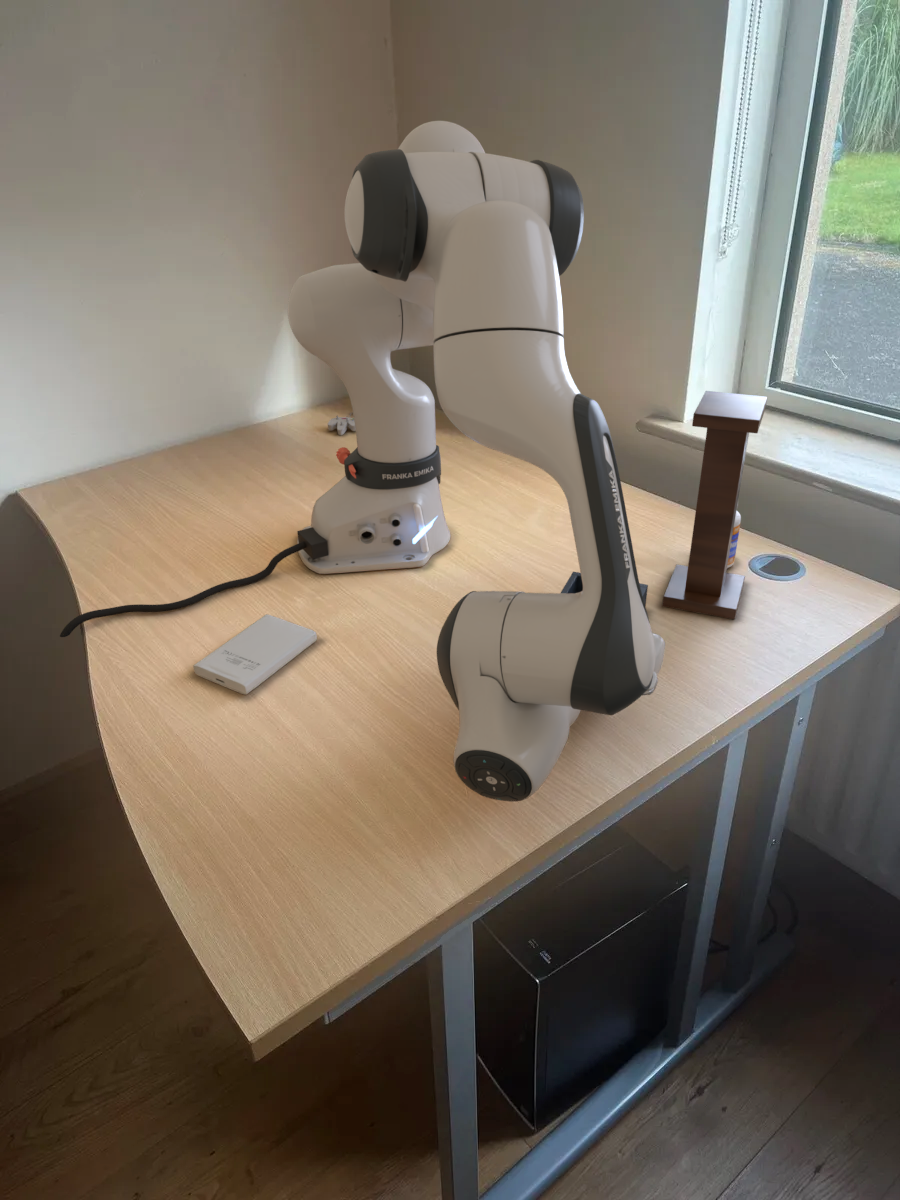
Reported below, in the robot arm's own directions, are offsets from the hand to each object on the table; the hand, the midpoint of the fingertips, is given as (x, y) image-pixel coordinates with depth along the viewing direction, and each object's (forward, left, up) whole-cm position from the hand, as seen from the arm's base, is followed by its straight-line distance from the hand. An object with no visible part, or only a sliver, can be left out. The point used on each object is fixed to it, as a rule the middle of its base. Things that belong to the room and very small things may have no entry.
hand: (583, 608), depth 97 cm
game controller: (-10, +88, -7) cm, 89 cm away
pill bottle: (+27, +16, -7) cm, 32 cm away
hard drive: (-36, +13, -7) cm, 39 cm away
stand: (+21, +8, -7) cm, 24 cm away
